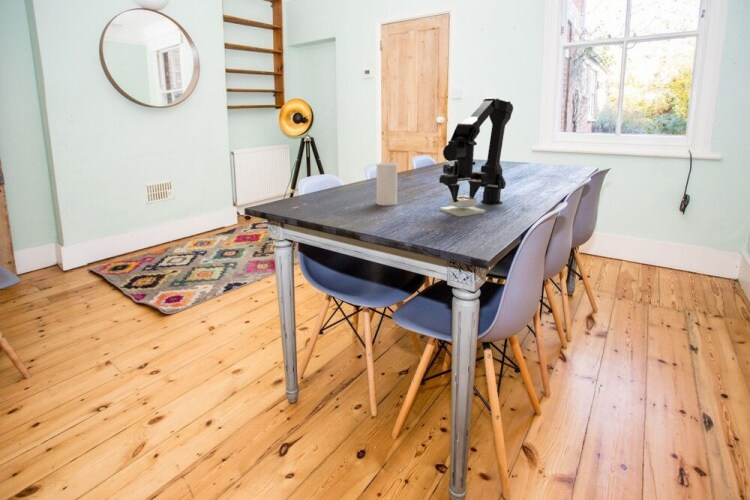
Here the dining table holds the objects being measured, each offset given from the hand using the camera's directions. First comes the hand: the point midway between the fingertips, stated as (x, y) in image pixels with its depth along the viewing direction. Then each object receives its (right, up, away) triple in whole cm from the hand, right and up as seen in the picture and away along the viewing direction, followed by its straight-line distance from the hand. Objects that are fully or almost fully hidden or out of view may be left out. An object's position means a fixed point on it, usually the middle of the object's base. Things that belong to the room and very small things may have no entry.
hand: (462, 201), depth 170 cm
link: (0, -2, +1) cm, 2 cm away
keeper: (0, -4, +1) cm, 4 cm away
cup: (-28, +1, +16) cm, 32 cm away
